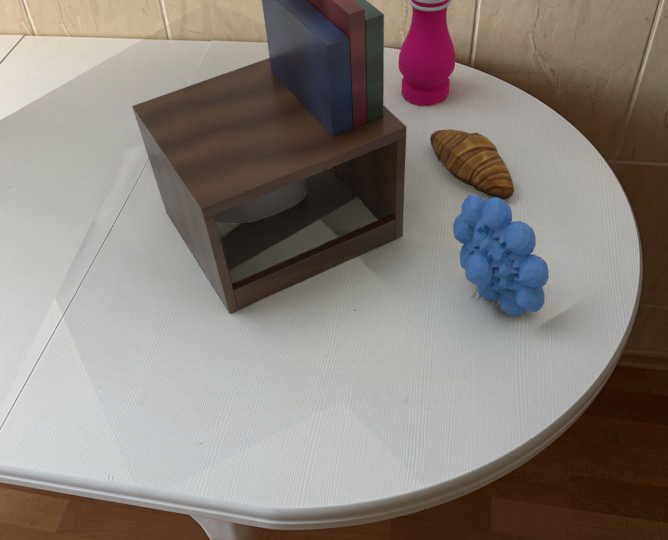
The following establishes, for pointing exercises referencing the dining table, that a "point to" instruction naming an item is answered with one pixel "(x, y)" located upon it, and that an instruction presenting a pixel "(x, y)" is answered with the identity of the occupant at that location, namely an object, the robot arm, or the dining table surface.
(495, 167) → the croissant
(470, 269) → the grapes
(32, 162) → the dining table surface
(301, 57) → the bookshelf
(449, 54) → the pepper mill
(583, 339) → the dining table surface
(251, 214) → the lumpy-topped squat cylinder
